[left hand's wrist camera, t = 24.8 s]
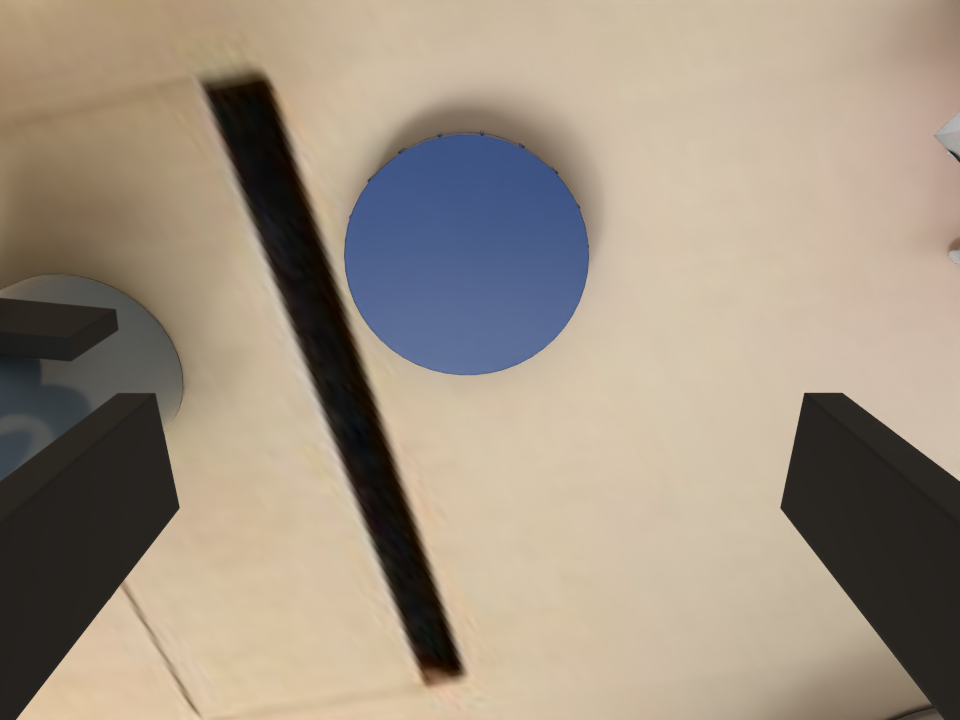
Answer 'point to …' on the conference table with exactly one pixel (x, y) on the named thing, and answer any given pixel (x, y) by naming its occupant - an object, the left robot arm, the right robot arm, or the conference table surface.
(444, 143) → the lid
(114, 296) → the jar
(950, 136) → the fish
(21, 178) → the conference table surface
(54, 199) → the conference table surface
